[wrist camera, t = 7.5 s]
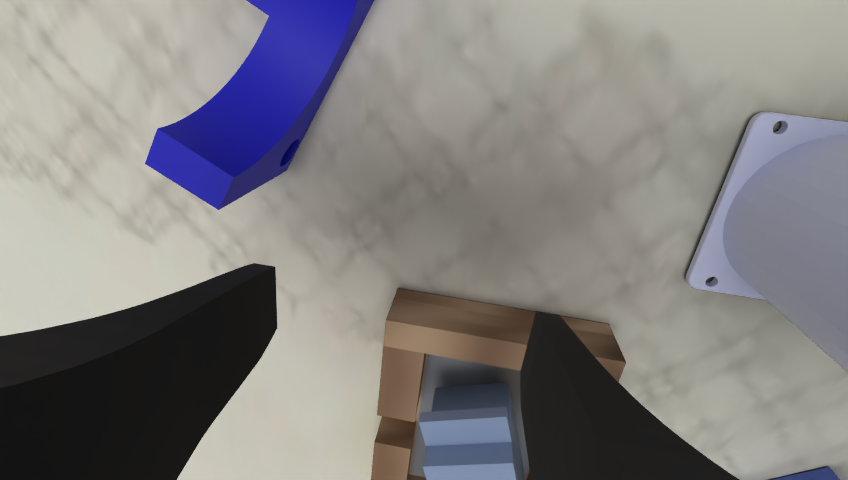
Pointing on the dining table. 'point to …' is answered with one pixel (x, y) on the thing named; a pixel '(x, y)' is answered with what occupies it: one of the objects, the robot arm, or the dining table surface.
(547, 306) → the dining table surface
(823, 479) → the walkman
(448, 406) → the block
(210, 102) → the cable clip
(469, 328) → the brown wooden flat frame
